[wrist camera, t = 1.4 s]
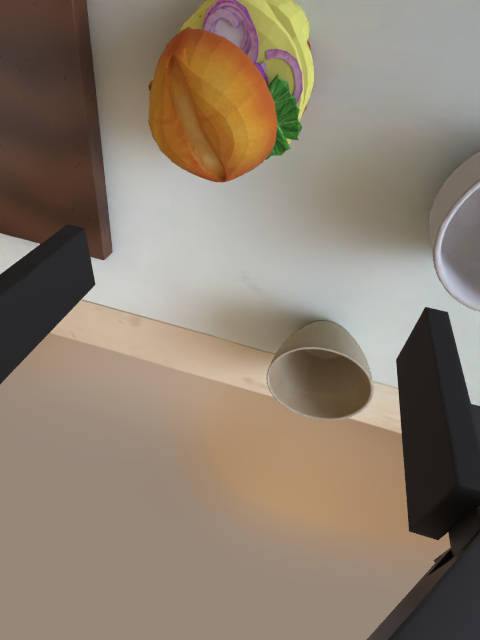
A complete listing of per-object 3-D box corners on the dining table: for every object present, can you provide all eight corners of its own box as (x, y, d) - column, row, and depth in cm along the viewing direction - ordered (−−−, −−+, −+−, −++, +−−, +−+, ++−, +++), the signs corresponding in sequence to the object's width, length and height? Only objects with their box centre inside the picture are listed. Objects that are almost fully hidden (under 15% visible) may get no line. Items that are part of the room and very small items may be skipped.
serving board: (-113, -87, 27) (-137, -92, 26) (80, -54, 26) (65, -57, 24) (-11, 220, 43) (-23, 227, 42) (112, 252, 42) (104, 260, 40)
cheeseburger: (358, 70, 26) (319, 136, 20) (261, 165, 34) (214, 231, 29) (252, -68, 23) (171, -36, 17) (173, 72, 31) (101, 125, 25)
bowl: (368, 296, 37) (369, 346, 32) (375, 369, 43) (377, 422, 37) (269, 304, 41) (255, 350, 35) (288, 371, 46) (278, 419, 41)
